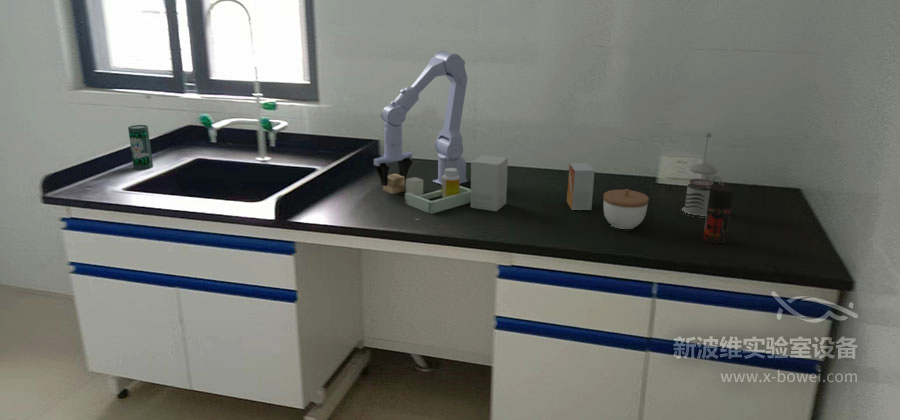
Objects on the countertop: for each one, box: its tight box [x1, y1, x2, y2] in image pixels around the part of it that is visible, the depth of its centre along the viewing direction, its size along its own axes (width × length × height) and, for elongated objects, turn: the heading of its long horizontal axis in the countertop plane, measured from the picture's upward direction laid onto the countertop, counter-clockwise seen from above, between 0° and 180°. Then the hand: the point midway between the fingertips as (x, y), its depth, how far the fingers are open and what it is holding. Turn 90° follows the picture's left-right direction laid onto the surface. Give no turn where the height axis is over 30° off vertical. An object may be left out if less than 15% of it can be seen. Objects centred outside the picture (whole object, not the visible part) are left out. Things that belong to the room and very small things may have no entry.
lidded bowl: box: [602, 188, 650, 230], centre depth 200 cm, size 13×13×11 cm
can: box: [127, 124, 154, 171], centre depth 249 cm, size 6×6×15 cm
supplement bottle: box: [441, 168, 461, 198], centre depth 219 cm, size 6×6×10 cm
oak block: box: [382, 173, 406, 195], centre depth 229 cm, size 5×5×5 cm
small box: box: [566, 162, 596, 212], centre depth 215 cm, size 8×6×13 cm
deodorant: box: [702, 184, 735, 242], centre depth 190 cm, size 6×6×15 cm
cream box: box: [405, 176, 424, 196], centre depth 226 cm, size 4×4×5 cm
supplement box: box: [470, 154, 509, 212], centre depth 214 cm, size 9×9×15 cm
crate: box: [404, 185, 471, 215], centre depth 218 cm, size 18×12×4 cm
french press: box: [681, 132, 724, 216], centre depth 209 cm, size 10×12×25 cm
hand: (393, 183), depth 229 cm, fingers open, 7 cm apart
